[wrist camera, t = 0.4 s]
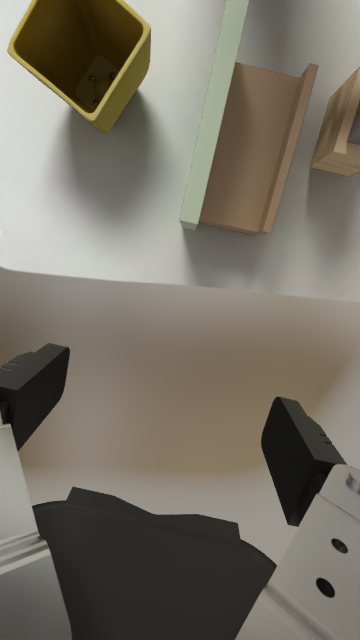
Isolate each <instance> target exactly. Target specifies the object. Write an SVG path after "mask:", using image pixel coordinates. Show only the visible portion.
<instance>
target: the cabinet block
mask: <svg viewBox="0 0 360 640" xmlns="http://www.w3.org/2000/svg"><path fill="white" fill-rule="evenodd" d="M310 167H312V168H316V169H320V170H324V171H328V172H332V173H337V174H341V175H345V176H351V175H354V174H356V173H358V172H360V67H359V68H358V69H357V70H356V71H355V72H354V73H353V74H352V75H351V76H350V77H349V79H348V80H347V81H346V82H345V83H344V84H343V85H342V86H341V87H340V88H339V89H338V90H337V91H336V92H335V93H334V94H333V95H332V96H331V97H330V100H329V104H328V107H327V110H326V114H325V117H324V120H323V124H322V127H321V130H320V134H319V137H318V140H317V144H316V147H315V151H314V154H313V157H312V161H311V164H310Z"/></svg>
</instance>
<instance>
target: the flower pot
mask: <svg viewBox="0 0 360 640" xmlns="http://www.w3.org/2000/svg"><path fill="white" fill-rule="evenodd" d="M150 44H151V27H150V25H149V24H148V23H147V21H146V20H145V19H144V18H142V17H141V16H140V15H139V14H138V13H137V12H136V11H135V10H134V9H133V8H132V7H130V6H129V5H128V4H127V3H126V2H125V1H124V0H32V1H31V3H30V5H29V7H28V9H27V11H26V12H25V14H24V16H23V18H22V19H21V21H20V23H19V25H18V27H17V28H16V30H15V32H14V34H13V36H12V37H11V40H10V42H9V46H8V50H7V51H8V53H9V55H10V56H11V57H13V58H14V59H15V60H16V61H17V62H18V63H20V64H21V65H22V66H23V67H24V68H25V69H27V70H28V71H29V72H30V73H31V74H32V75H34V76H35V77H36V78H37V79H38V80H39V81H41V82H42V83H43V84H44V85H46V86H47V87H48V88H49V89H51V90H52V91H53V92H54V93H56V94H57V95H58V96H59V97H61V98H62V99H63V100H64V101H65V102H67V103H68V104H69V105H70V106H71V107H73V108H74V109H75V110H76V111H77V112H78V113H80V114H81V115H82V116H83V117H84V118H85V119H87V120H88V121H89V122H90V123H91V124H92V125H94V126H95V127H96V128H97V129H98V130H100V131H101V132H104V133H106V132H109V131H110V130H111V128H112V127H113V125H114V124H115V122H116V121H117V119H118V118H119V116H120V114H121V113H122V111H123V110H124V108H125V107H126V105H127V104H128V102H129V101H130V99H131V98H132V96H133V94H134V93H135V91H136V90H137V88H138V87H139V85H140V84H141V83H142V81H143V79H144V77H145V76H146V73H147V71H148V68H149V63H150ZM111 74H115V75H116V77H115V79H111V77H110V76H111ZM90 77H94V78H95V81H94V82H90ZM94 101H98V102H99V104H98V106H94Z"/></svg>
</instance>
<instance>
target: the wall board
mask: <svg viewBox="0 0 360 640" xmlns="http://www.w3.org/2000/svg"><path fill="white" fill-rule="evenodd" d="M248 4H249V0H227V1H226V6H225V10H224V15H223V20H222V24H221V29H220V34H219V38H218V43H217V48H216V52H215V57H214V61H213V66H212V71H211V75H210V80H209V85H208V89H207V94H206V99H205V103H204V108H203V112H202V117H201V122H200V126H199V131H198V136H197V140H196V145H195V150H194V154H193V159H192V163H191V168H190V173H189V177H188V182H187V187H186V191H185V196H184V200H183V205H182V210H181V214H180V219H179V220H180V223H181V226H182V228H187V229H191V230H196V228H197V225H198V222H200V223H204V224H208V225H213V226H217V227H221V228H225V229H230V230H234V231H238V232H242V233H247V234H251V235H261V234H268V233H271V231H272V228H273V224H274V221H275V217H276V214H277V210H278V207H279V203H280V200H281V196H282V193H283V189H284V186H285V182H286V179H287V175H288V172H289V168H290V165H291V161H292V158H293V154H294V150H295V147H296V143H297V140H298V136H299V133H300V129H301V126H302V122H303V119H304V115H305V112H306V108H307V105H308V101H309V98H310V94H311V91H312V87H313V84H314V80H315V77H316V73H317V70H318V65H314V64H309V65H308V67H307V68H306V70H305V71H304V73H303V74H302V76H301V77H300V78H297V77H293V76H289V75H285V74H281V73H277V72H273V71H269V70H265V69H261V68H257V67H252V66H248V65H244V64H240V63H236V62H235V61H236V56H237V52H238V48H239V43H240V39H241V35H242V30H243V26H244V21H245V17H246V13H247V8H248Z"/></svg>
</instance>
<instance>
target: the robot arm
mask: <svg viewBox="0 0 360 640" xmlns="http://www.w3.org/2000/svg"><path fill="white" fill-rule="evenodd" d="M69 355H70V350H69V347H65V346H60V345H56V344H51V343H48V344H46V345H45V346H43V347H42V348H41V349H39V350H38V351H36V352H35V353H33V352H28V353H25V354H22V355H18V356H16V357H15V358H13V359H12V360H10V361H9V362H8V363H6V364H4V365H3V366H1V368H0V640H360V470H359V469H357V468H354V467H352V466H349V465H347V464H346V463H345V461H344V460H343V458H342V457H341V455H340V454H339V452H338V451H337V450H336V448H335V447H334V445H332V442H331V441H330V439H329V438H328V437H326V436H327V435H326V434H325V432H324V431H323V429H322V428H321V427H320V426H319V425H318V424H317V423H316V422H315V421H313V420H312V419H311V418H310V417H308V416H307V415H306V413H305V412H304V410H303V409H302V407H301V406H300V404H299V403H298V401H295V400H291V399H286V398H282V397H276V398H275V399H274V401H273V403H272V407H271V409H270V412H269V415H268V418H267V421H266V424H265V427H264V429H263V433H262V438H261V446H262V450H263V453H264V456H265V459H266V462H267V465H268V468H269V471H270V474H271V476H272V479H273V483H274V485H275V488H276V491H277V494H278V497H279V500H280V503H281V506H282V509H283V512H284V515H285V518H286V521H287V523H288V525H292V526H297V527H298V529H297V531H296V532H295V534H294V536H293V538H292V540H291V542H290V543H289V545H288V547H287V549H286V551H285V553H284V555H283V556H282V558H281V560H280V562H279V564H278V566H277V565H276V564H275V563H274V562H273V561H272V560H271V559H270V558H268V557H267V556H266V555H265V554H264V553H262V552H261V551H260V550H258V549H257V548H255V547H254V546H252V545H250V544H249V543H247V542H245V541H243V540H241V539H240V535H239V528H238V524H237V523H235V522H230V521H226V520H221V519H216V518H212V517H208V516H203V515H198V514H182V515H156V514H152V513H149V512H147V511H145V510H143V509H141V508H139V507H137V506H134V505H132V504H130V503H128V502H126V501H124V500H122V499H120V498H117V497H115V496H112V495H108V494H103V493H99V492H94V491H90V490H85V489H81V488H76V487H72V489H71V491H70V494H69V496H68V498H67V500H66V501H53V502H47V503H42V504H37V505H34V506H31V502H30V498H29V494H28V490H27V486H26V483H25V478H24V475H23V471H22V467H21V463H20V459H19V456H18V451H19V450H20V448H21V447H22V446H23V445H24V443H25V442H26V441H27V440H28V439H29V437H30V436H31V435H32V434H33V432H34V431H35V430H36V429H37V427H38V426H39V425H40V424H41V423H42V421H43V420H44V419H45V418H46V416H47V415H48V414H49V413H50V412H51V410H52V409H53V408H54V407H55V405H56V404H57V403H58V402H59V400H60V398H61V396H62V394H63V391H64V387H65V382H66V374H67V368H68V361H69Z"/></svg>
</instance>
